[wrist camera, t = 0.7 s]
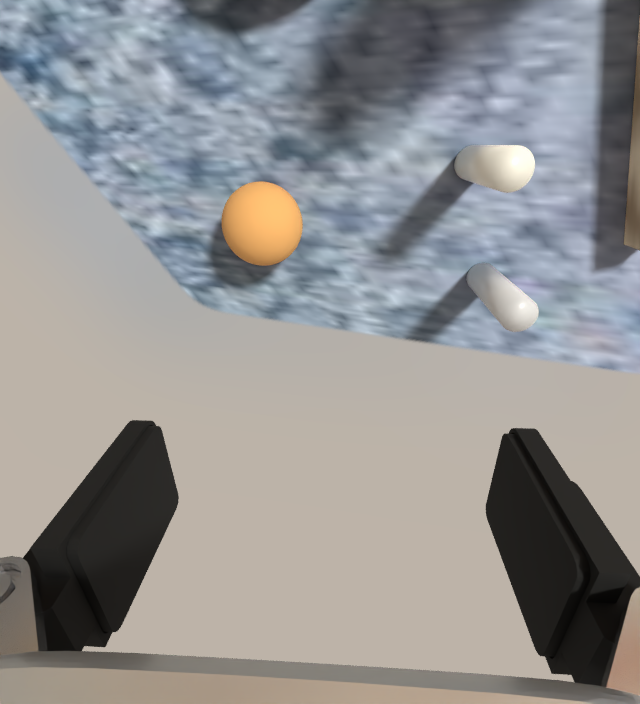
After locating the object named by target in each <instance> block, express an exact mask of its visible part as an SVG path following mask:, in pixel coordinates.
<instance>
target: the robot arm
mask: <svg viewBox="0 0 640 704" xmlns="http://www.w3.org/2000/svg"><path fill="white" fill-rule="evenodd" d="M177 505H178V492H177V488H176V484H175V480H174V476H173V472H172V469H171V465H170V461H169V457H168V453H167V449H166V445H165V441H164V437H163V433H162V430H161V428H160V427H159V426H156V425H155V423H154V422H153V421H138V420H136V421H135V420H133V421H130V422H129V423H128V424H127V425H126V426H125V428H124V429H123V430H122V432H121V433H120V434H119V436H118V437H117V438H116V439H115V441H114V442H113V443H112V444H111V446H110V447H109V448H108V449H107V451H106V452H105V453H104V455H103V456H102V457H101V459H100V460H99V461H98V462H97V463H96V465H95V466H94V467H93V469H92V470H91V471H90V472H89V474H88V475H87V476H86V478H85V479H84V480H83V482H82V483H81V484H80V485H79V486H78V488H77V489H76V490H75V492H74V493H73V494H72V495H71V497H70V498H69V499H68V501H67V502H66V503H65V504H64V506H63V507H62V508H61V509H60V511H59V512H58V513H57V515H56V516H55V517H54V518H53V520H52V521H51V522H50V523H49V525H48V526H47V528H46V529H45V530H44V531H43V533H42V534H41V535H40V536H39V538H38V539H37V540H36V541H35V543H34V544H33V545H32V547H31V548H30V550H29V551H28V552H27V554H26V555H25V556H24V557H23V558H21V557H13V556H10V557H4V558H0V704H640V576H639V575H638V573H637V572H636V570H635V569H634V567H633V566H632V565H631V563H630V561H629V560H628V559H627V557H626V556H625V554H624V553H623V551H622V550H621V548H620V547H619V545H618V544H617V542H616V541H615V539H614V538H613V536H612V535H611V533H610V532H609V530H608V529H607V528H606V526H605V525H604V523H603V521H602V520H601V518H600V517H599V515H598V514H597V512H596V511H595V509H594V508H593V506H592V505H591V503H590V502H589V500H588V499H587V497H586V496H585V494H584V493H583V492H582V490H581V489H580V488H579V486H578V485H577V484H576V483H574V482H573V481H570V479H569V478H568V476H567V475H566V473H565V472H564V470H563V469H562V467H561V465H560V464H559V463H558V461H557V459H556V458H555V456H554V455H553V453H552V452H551V450H550V449H549V447H548V446H547V444H546V443H545V441H544V440H543V438H542V437H541V435H540V434H539V432H538V431H537V430H536V429H523V428H513V429H511V430H510V432H509V434H504V435H503V436H502V440H501V444H500V449H499V453H498V457H497V461H496V465H495V469H494V473H493V478H492V482H491V486H490V490H489V494H488V499H487V503H486V516H487V520H488V522H489V525H490V528H491V530H492V533H493V536H494V539H495V541H496V544H497V547H498V549H499V552H500V555H501V558H502V560H503V563H504V566H505V568H506V571H507V574H508V577H509V579H510V582H511V585H512V587H513V590H514V593H515V596H516V598H517V601H518V604H519V606H520V609H521V612H522V614H523V617H524V620H525V622H526V625H527V628H528V631H529V633H530V636H531V638H532V642H533V644H534V647H535V649H536V651H537V653H538V654H539V655H540V656H545V657H546V660H547V662H548V665H549V668H550V670H551V673H552V674H568V675H572V677H573V679H574V682H575V683H574V682H567V681H559V680H546V679H535V678H523V677H512V676H500V675H487V674H473V673H458V672H442V671H428V670H413V669H398V668H383V667H367V666H351V665H334V664H317V663H301V662H284V661H267V660H250V659H233V658H232V659H231V658H214V657H196V656H177V655H159V654H140V653H116V652H85V651H84V652H83V651H82V649H83V647H84V646H94V647H105V646H106V644H107V642H108V640H109V638H110V636H111V634H112V632H116V631H118V630H119V628H120V627H121V625H122V623H123V621H124V619H125V617H126V615H127V612H128V611H129V608H130V606H131V604H132V602H133V600H134V598H135V596H136V593H137V591H138V589H139V587H140V585H141V583H142V580H143V579H144V576H145V574H146V572H147V570H148V568H149V566H150V564H151V562H152V559H153V557H154V555H155V553H156V551H157V549H158V547H159V544H160V542H161V540H162V538H163V536H164V534H165V532H166V529H167V527H168V525H169V523H170V521H171V519H172V517H173V515H174V512H175V510H176V508H177Z"/></svg>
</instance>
